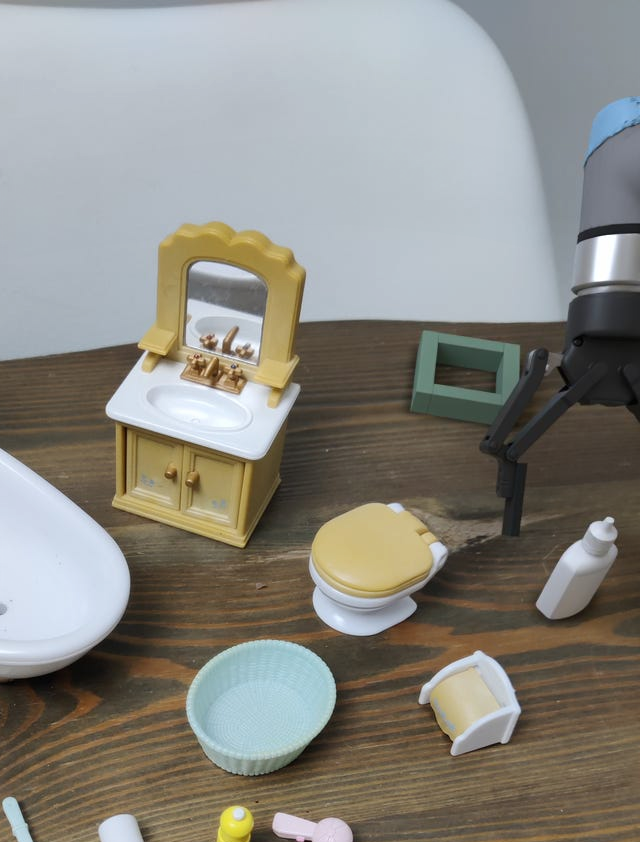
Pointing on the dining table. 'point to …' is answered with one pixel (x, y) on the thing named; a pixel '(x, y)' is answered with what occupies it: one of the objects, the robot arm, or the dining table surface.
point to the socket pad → (469, 356)
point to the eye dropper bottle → (579, 572)
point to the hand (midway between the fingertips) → (585, 540)
